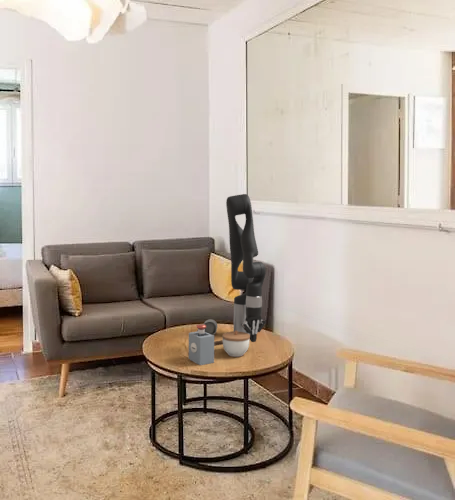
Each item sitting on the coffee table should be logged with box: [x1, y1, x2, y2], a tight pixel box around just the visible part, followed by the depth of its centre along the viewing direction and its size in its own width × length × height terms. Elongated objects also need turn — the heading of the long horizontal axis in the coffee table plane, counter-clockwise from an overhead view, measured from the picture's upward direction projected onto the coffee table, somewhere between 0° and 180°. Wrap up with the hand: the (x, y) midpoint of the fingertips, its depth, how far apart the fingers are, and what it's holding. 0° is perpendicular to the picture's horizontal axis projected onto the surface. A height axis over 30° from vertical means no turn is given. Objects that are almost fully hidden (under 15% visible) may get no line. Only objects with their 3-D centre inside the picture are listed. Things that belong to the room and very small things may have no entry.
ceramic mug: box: [196, 318, 218, 336], centre depth 303 cm, size 11×8×8 cm
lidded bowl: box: [221, 330, 251, 358], centre depth 269 cm, size 13×13×11 cm
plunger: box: [196, 323, 206, 337], centre depth 258 cm, size 4×4×6 cm
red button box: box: [188, 330, 215, 366], centre depth 259 cm, size 8×10×12 cm
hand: (253, 341), depth 275 cm, fingers closed
